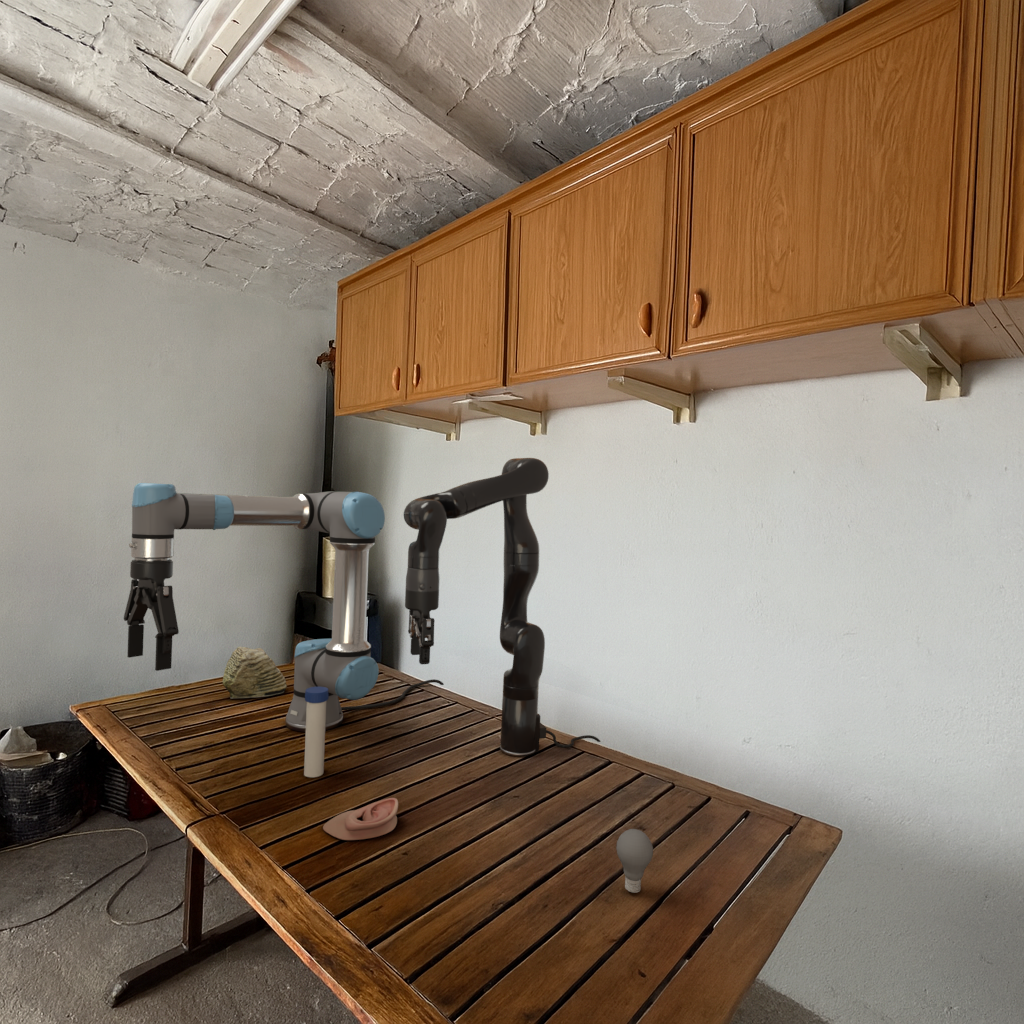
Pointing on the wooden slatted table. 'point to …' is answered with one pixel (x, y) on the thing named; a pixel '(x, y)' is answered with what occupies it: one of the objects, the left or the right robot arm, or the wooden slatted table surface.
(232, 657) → the fossil
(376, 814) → the anatomical model
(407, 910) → the wooden slatted table surface
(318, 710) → the white bottle
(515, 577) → the right robot arm
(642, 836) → the light bulb
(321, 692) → the lid
